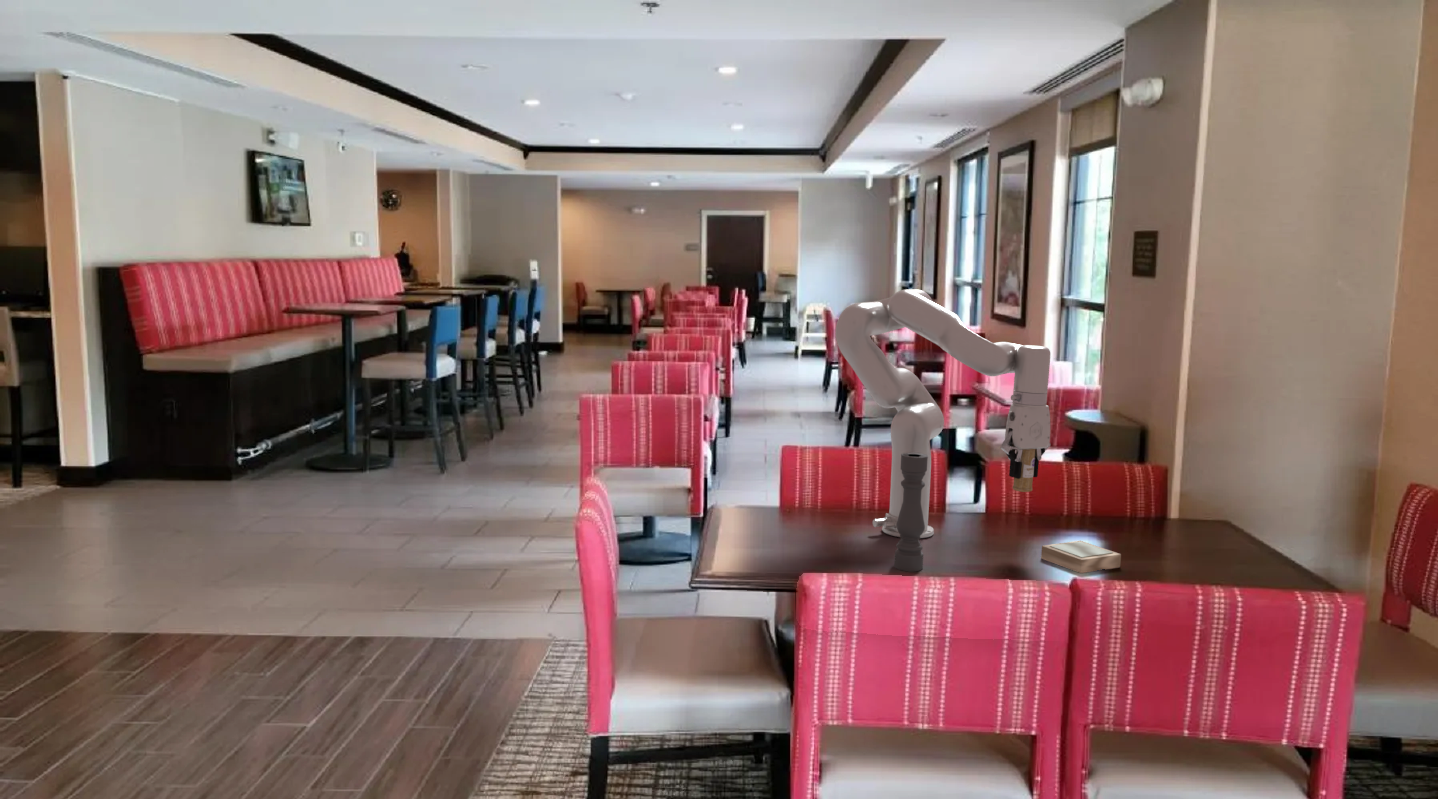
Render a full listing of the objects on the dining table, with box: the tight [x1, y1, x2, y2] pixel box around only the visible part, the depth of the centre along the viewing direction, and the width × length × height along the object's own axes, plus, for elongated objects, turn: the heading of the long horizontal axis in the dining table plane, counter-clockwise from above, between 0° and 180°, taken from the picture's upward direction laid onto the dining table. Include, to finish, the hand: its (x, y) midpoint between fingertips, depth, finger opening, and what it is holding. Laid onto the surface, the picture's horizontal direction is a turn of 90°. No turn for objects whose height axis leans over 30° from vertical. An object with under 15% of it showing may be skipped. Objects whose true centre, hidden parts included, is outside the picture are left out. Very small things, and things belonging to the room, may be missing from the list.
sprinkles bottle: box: [1012, 449, 1035, 493], centre depth 241 cm, size 5×5×13 cm
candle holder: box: [893, 453, 928, 572], centre depth 226 cm, size 6×6×25 cm
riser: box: [1040, 540, 1122, 574], centre depth 235 cm, size 12×12×3 cm
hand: (1023, 475), depth 241 cm, fingers closed on sprinkles bottle, 4 cm apart
